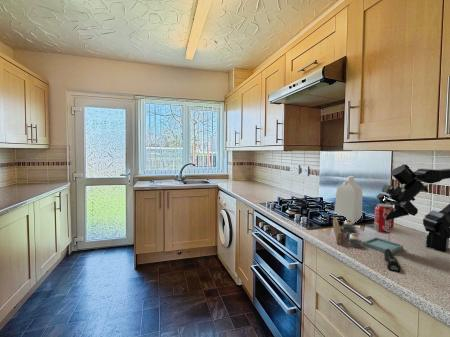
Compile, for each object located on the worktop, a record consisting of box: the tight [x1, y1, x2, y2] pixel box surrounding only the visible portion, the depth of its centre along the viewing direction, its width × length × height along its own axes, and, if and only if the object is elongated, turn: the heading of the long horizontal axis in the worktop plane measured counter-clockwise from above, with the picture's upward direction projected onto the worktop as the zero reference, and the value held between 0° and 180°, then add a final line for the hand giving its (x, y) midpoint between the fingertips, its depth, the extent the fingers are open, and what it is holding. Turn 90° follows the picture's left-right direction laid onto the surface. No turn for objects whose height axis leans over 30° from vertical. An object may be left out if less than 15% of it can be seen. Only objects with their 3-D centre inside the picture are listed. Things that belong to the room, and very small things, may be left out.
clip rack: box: [332, 216, 361, 248], centre depth 121 cm, size 10×30×5 cm, turn 160°
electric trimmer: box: [383, 249, 401, 273], centre depth 92 cm, size 4×16×3 cm, turn 153°
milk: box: [333, 175, 363, 225], centre depth 147 cm, size 12×12×26 cm
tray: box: [362, 236, 404, 255], centre depth 106 cm, size 11×11×2 cm
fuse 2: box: [348, 233, 360, 244], centre depth 109 cm, size 4×4×5 cm
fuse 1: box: [344, 220, 353, 225], centre depth 130 cm, size 4×4×5 cm
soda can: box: [373, 202, 395, 235], centre depth 106 cm, size 7×7×12 cm
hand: (380, 217), depth 106 cm, fingers closed on soda can, 7 cm apart
